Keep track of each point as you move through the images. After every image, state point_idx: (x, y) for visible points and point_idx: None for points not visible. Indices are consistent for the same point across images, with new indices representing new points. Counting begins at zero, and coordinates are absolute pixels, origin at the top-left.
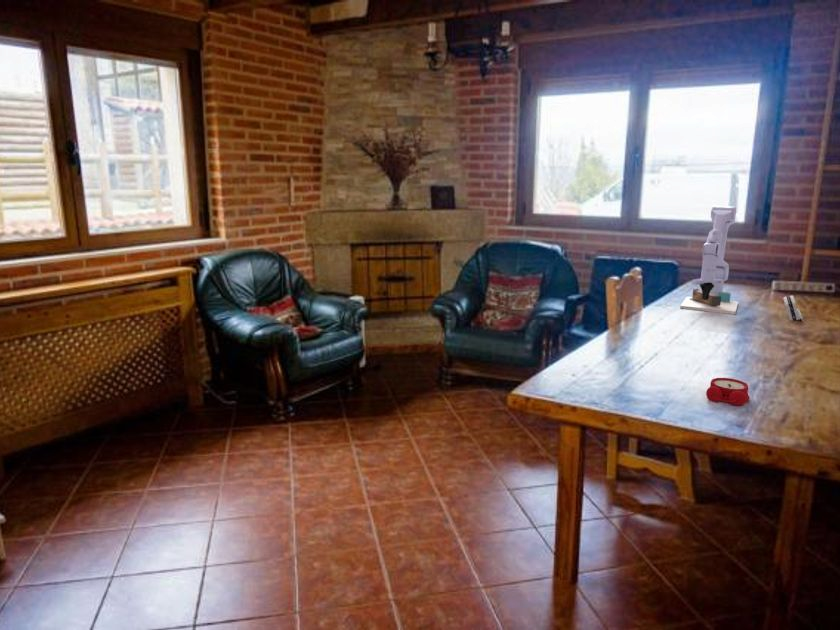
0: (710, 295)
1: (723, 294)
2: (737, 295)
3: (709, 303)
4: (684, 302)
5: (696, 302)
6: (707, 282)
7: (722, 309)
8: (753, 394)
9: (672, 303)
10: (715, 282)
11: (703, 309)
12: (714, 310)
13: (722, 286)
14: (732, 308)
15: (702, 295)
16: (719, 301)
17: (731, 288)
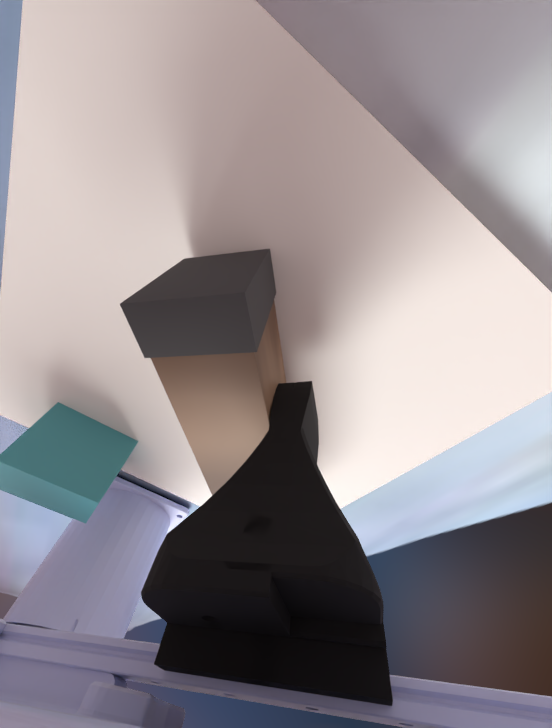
0: (261, 397)
1: (63, 474)
2: (6, 524)
3: (277, 335)
4: (429, 448)
5: (324, 434)
6: (260, 700)
7: (223, 63)
8: None
9: (467, 476)
10: (67, 658)
11: (445, 190)
12: (340, 90)
13: (35, 577)
14: (61, 140)
15: (317, 455)
16: (178, 274)
17: (24, 578)
